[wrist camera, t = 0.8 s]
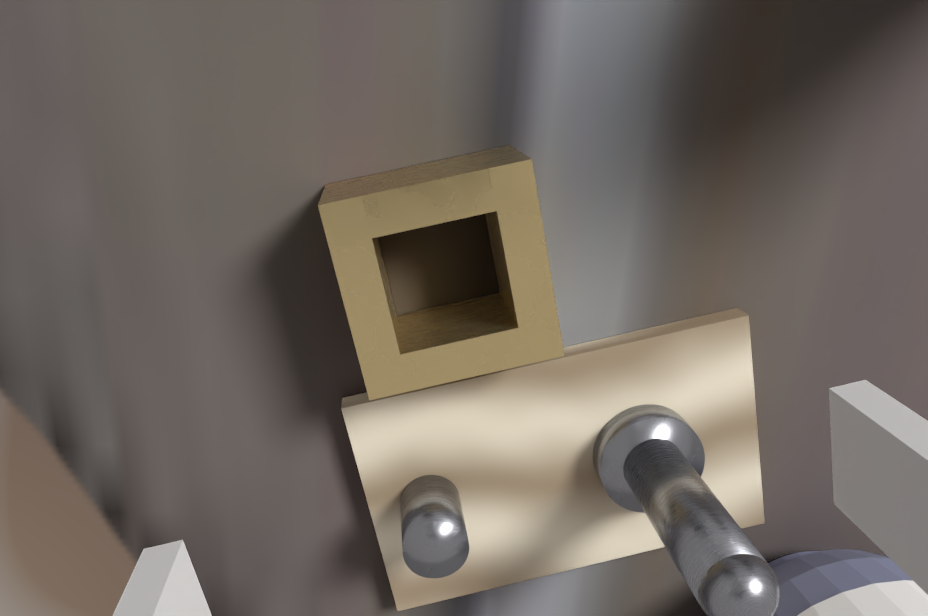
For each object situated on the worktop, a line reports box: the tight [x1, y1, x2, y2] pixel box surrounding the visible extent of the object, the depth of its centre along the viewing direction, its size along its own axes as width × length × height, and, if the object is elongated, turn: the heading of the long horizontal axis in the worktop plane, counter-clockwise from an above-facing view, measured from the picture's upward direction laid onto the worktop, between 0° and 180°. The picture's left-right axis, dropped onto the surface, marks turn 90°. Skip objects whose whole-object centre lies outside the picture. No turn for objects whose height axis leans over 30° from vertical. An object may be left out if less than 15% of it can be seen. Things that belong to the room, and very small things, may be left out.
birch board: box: [341, 308, 765, 611], centre depth 39 cm, size 12×20×1 cm, turn 101°
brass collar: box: [318, 145, 564, 400], centre depth 33 cm, size 8×8×5 cm
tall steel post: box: [593, 404, 779, 616], centre depth 33 cm, size 5×5×12 cm
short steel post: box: [400, 475, 469, 578], centre depth 36 cm, size 3×3×4 cm
